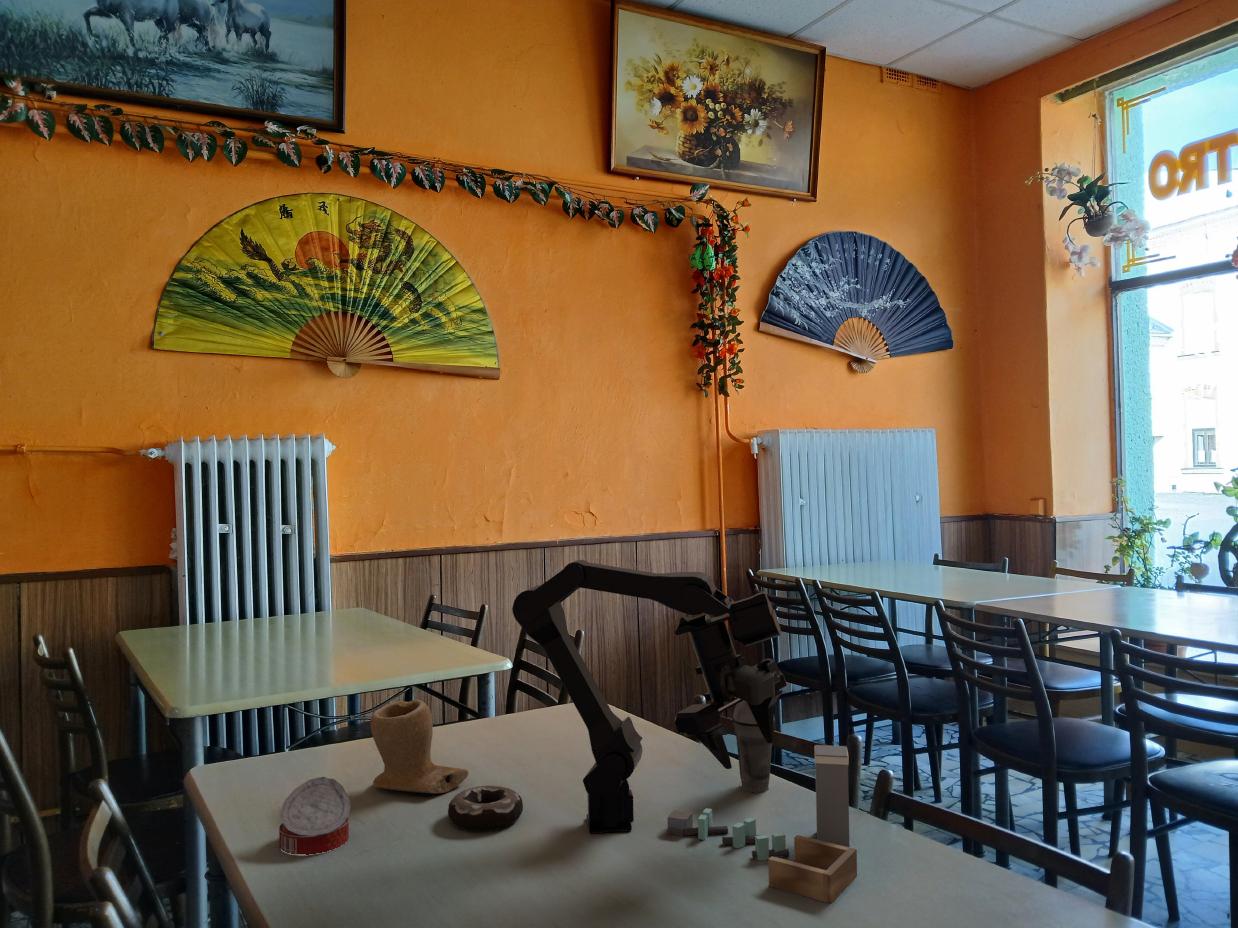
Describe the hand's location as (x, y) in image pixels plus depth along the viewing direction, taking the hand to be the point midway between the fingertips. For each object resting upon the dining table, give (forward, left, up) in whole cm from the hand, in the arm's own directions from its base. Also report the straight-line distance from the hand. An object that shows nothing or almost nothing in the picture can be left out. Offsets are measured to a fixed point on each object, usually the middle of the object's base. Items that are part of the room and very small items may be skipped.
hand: (750, 755), depth 132 cm
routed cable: (-3, -3, -12) cm, 13 cm away
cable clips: (-3, -3, -12) cm, 12 cm away
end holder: (+4, -15, -12) cm, 20 cm away
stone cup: (-53, +27, -12) cm, 60 cm away
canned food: (-65, +7, -12) cm, 66 cm away
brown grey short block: (-10, +3, -12) cm, 16 cm away
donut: (-40, +12, -12) cm, 43 cm away
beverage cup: (+5, +19, -12) cm, 23 cm away
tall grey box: (+11, -3, -12) cm, 17 cm away
